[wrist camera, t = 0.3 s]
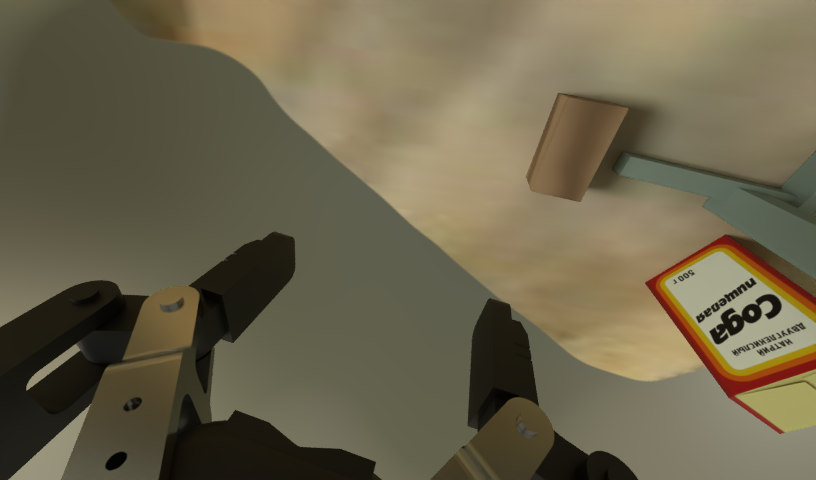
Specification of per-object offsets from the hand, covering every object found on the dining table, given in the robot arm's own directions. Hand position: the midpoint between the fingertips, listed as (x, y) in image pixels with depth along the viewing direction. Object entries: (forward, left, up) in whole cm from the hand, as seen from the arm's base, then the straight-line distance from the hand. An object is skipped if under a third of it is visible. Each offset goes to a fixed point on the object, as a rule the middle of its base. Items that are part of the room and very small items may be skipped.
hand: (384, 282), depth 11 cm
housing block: (-2, +12, -27) cm, 30 cm away
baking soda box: (+9, +34, -27) cm, 44 cm away
